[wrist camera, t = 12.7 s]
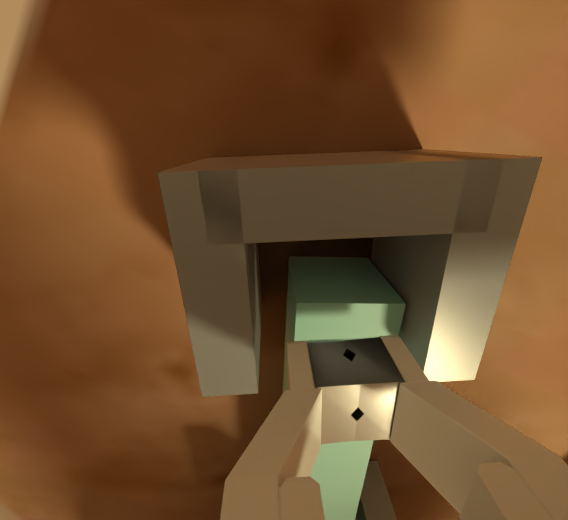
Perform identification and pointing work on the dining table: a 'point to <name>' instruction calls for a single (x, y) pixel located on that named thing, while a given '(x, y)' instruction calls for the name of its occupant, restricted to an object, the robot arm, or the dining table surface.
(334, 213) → the cap
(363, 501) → the cap
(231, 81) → the dining table surface
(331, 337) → the slat
